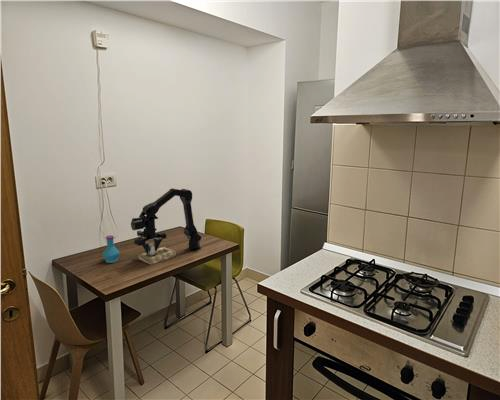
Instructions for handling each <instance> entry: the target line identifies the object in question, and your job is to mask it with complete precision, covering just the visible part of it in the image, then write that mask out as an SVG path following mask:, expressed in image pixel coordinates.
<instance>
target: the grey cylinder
mask: <svg viewBox="0 0 500 400" xmlns="http://www.w3.org/2000/svg"><path fill="white" fill-rule="evenodd" d="M148 244H149V243H148ZM148 256H149V257H153V256H155V244H154V243H150V244H149V251H148Z"/></svg>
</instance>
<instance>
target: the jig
mask: <svg viewBox="0 0 500 400" xmlns="http://www.w3.org/2000/svg"><path fill="white" fill-rule="evenodd" d="M176 255H177V254H176V251H175V250H173V249H171V248H168V247H165V246H162V247H158V249H157V251H155V256H153V257H149V256H148V254H146V252H143V253H139V254H138V260H139V261H141V262H144V263H147V264H149V265H154V264H156V263H159V262H162V261H166V260H168V259H171V258H174V257H176Z"/></svg>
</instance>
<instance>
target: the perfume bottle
mask: <svg viewBox="0 0 500 400" xmlns="http://www.w3.org/2000/svg"><path fill="white" fill-rule="evenodd" d="M114 237H115V236H114V235H111V234H110V235H107V236H105V239H106V248H105V249H104V250H103V253H102V256H103V257H102V258H103V259H104V261H105V263H115V262H117V261H118V260H119V256H120V250H119V249H117V247H116V246H115V244H114Z"/></svg>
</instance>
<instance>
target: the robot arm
mask: <svg viewBox="0 0 500 400" xmlns="http://www.w3.org/2000/svg"><path fill="white" fill-rule="evenodd" d="M175 196H176V197H179V199H180V201H181V203H182V204H183V205H182V206H183V213H184V219H185V220H184V221H185V227H183V234H184V235H185V237H186V238H187V239H188V247H187V249H188V250H190V251H193V252H194V251H197V250H199V249H202V247H201V246H200V241H201V240H202V236H201V235H200V234H198V233H199V232H198V229H197V228H196V226H195V222H194V215H193V210H192V209H193V208H192V200H193V193H192V191H191V190H190V189H186V188H182V189H177V188H170V189H169V190H168V191H167V192H165V193H164V194H162V195H161V196H160V197H159V198H157V199H156V200H155V201H153V202H150V203H148V204H145V205H143V207H142V211H141V212H140V214H139V216H138V217H133V218H131V222H130V227H131V230H132V231H136V234H137V237H138V238H135V239H134V241H133V243H134V245H137V246H140V247H141V246H142V247H143V249H144V251H145V253H146V254H148V251H149V243H148V242H149V241H153V244H155V251H157V249H158V248H160V247H159V246H160V245H161V242H162V241H163V239H164V240H165V239H167V238H168V237H167V234H166V232H162V231H159V232H156V231H157V228H156V220H158V219H159V217H158V216H157V215H156V214H157V213H158V212H159V210H160V209H161V207H163V206H164V205H166V204H167V203H168V202H169V201H170V200H172V199H173V198H174V197H175Z"/></svg>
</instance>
